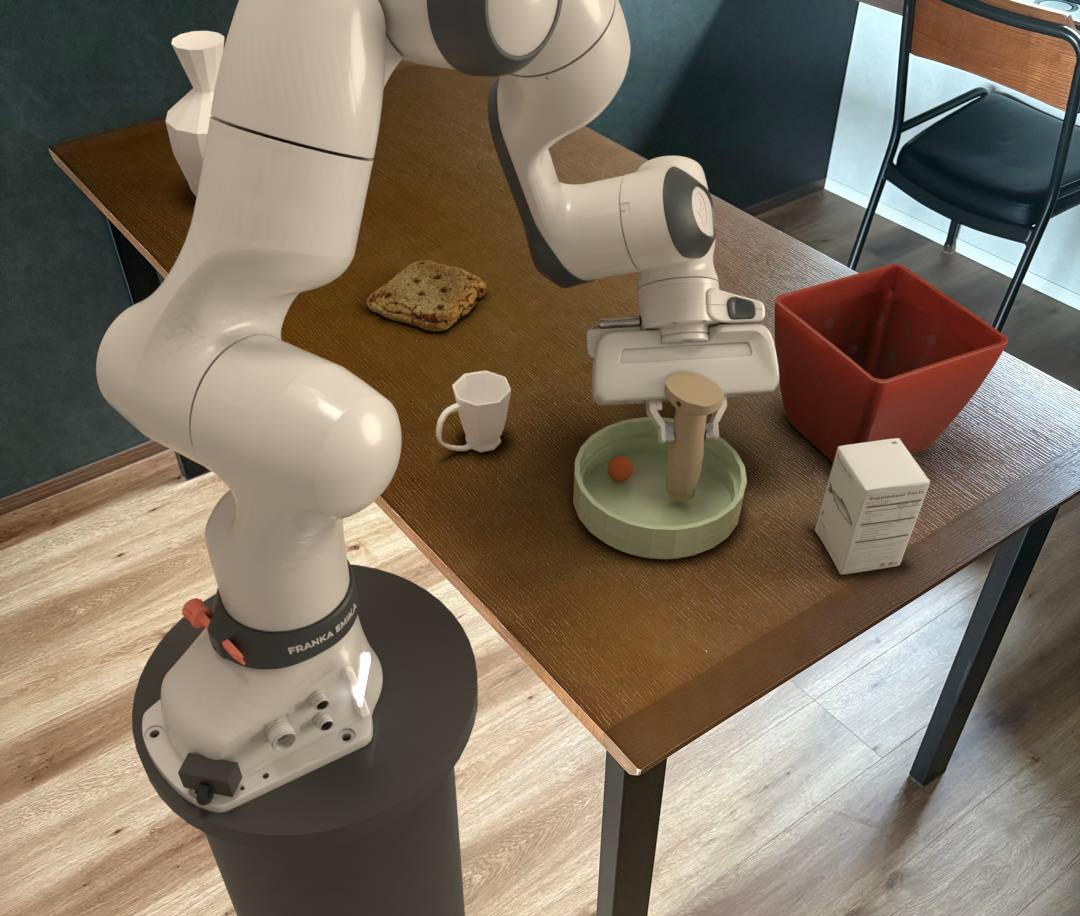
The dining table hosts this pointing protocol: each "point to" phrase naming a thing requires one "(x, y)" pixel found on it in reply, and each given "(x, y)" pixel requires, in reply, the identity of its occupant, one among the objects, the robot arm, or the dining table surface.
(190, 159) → the vase
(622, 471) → the ball
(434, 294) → the pastry
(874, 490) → the white packaging box
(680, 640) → the dining table surface
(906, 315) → the flower pot
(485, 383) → the cup
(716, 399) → the handle
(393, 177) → the dining table surface
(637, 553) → the bowl
